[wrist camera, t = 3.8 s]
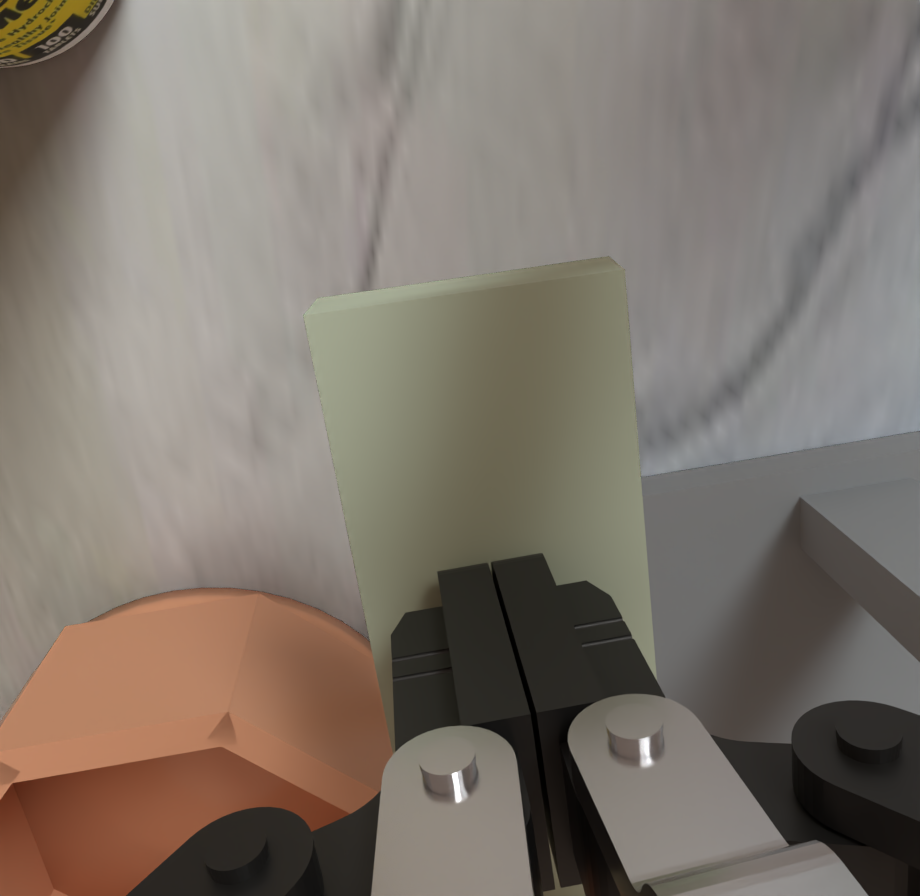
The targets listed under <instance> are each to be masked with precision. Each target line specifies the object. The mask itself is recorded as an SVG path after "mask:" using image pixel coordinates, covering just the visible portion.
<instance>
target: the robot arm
mask: <svg viewBox="0 0 920 896" xmlns="http://www.w3.org/2000/svg"><path fill="white" fill-rule="evenodd" d="M491 567H492V575H491V572H490V568H489V565H488V563H482V564H476V565H470V566H465V567H459V568H453V569H448V570H442V571H437V574H438V581H439V587H440V594H441V600H442V606H440V607H434V608H429V609H423V610H418V611H412V612H406V613H405V614H404V615H403V617H402V618H401V620H400V622H399V623H398V625H397V626H396V628H395V629H394V631H393V633H392V634H391V655H392V678H393V706H394V732H395V753H394V754H393V755H392V757H391V758H390V759H389V761H388V762H387V764H386V766H385V769H384V772H383V776H382V784H381V790H380V791H379V792H378V794H377V795H376V796H375V797H374V798H372V799H371V800H370V801H369V802H368V803H366V804H365V805H364V806H362V807H361V808H359V809H358V810H356V811H355V812H353V813H351V814H349V815H347V816H345V817H343V818H341V819H339V820H337V821H334V822H332V823H330V824H328V825H325V826H323V827H321V828H319V829H316V830H314V831H312V832H311V830H310V828H309V826H308V825H307V823H306V822H305V821H304V820H303V819H302V818H301V817H300V816H299V815H297V814H295V813H293V812H291V811H289V810H285V809H282V808H276V807H256V808H249V809H244V810H241V811H237V812H234V813H231V814H228V815H226V816H223V817H221V818H219V819H217V820H215V821H213V822H211V823H210V824H208V825H206V826H205V827H203V828H202V829H200V830H199V831H198V832H196V833H195V834H194V835H193V836H192V837H190V838H189V839H188V840H187V841H186V842H185V843H184V844H182V845H181V846H180V847H179V848H178V849H177V850H176V851H175V852H174V853H172V854H171V855H170V856H169V857H168V858H167V859H166V860H165V861H164V862H163V863H161V864H160V865H159V866H158V867H157V868H156V869H155V870H154V871H153V872H151V873H150V874H149V875H148V876H147V877H146V878H145V879H144V880H143V881H141V882H140V883H139V884H138V885H137V886H136V887H135V888H134V889H133V890H131V891H130V892H129V893H128V894H127V895H126V896H543V892H545V891H550V890H555V882H554V875H553V868H552V861H551V854H550V848H551V852H552V856H553V859H554V863H555V867H556V871H557V875H558V879H559V883H560V887H561V888H564V887H569V886H574V885H579V884H582V885H583V889H584V892H585V896H920V715H917V714H915V713H912V712H909V711H906V710H903V709H900V708H897V707H894V706H890V705H887V704H882V703H877V702H871V701H860V700H846V701H837V702H831V703H827V704H823V705H820V706H818V707H815V708H813V709H811V710H809V711H808V712H806V713H805V714H803V715H802V716H801V717H800V718H799V719H798V721H797V722H796V723H795V725H794V727H793V730H792V736H791V744H788V743H765V742H746V741H736V740H730V739H725V738H721V737H717V736H714V735H710V734H709V733H708V732H707V730H706V729H705V727H704V726H703V725H702V723H701V722H700V720H699V719H698V718H697V717H696V716H695V715H694V713H692V712H691V711H690V710H689V709H687V708H686V707H684V706H683V705H681V704H679V703H677V702H675V701H672V700H670V699H667V698H666V697H665V695H664V693H663V692H662V690H661V688H660V686H659V684H658V682H657V680H656V679H655V677H654V675H653V673H652V671H651V669H650V667H649V666H648V664H647V662H646V660H645V658H644V656H643V654H642V653H641V651H640V649H639V647H638V645H637V643H636V641H635V640H634V639H632V634H631V632H630V630H629V628H628V627H627V625H626V623H625V621H623V619H622V615H621V614H620V612H619V610H618V608H617V606H616V604H615V602H614V601H613V599H612V597H611V596H610V595H609V594H607V593H606V592H604V591H602V590H601V589H599V588H598V587H596V586H595V585H593V584H591V583H590V582H588V581H587V580H586V581H580V582H574V583H569V584H563V585H556V583H555V581H554V578H553V576H552V573H551V571H550V569H549V566H548V564H547V562H546V559H545V557H544V555H543V553H538V554H532V555H526V556H521V557H515V558H509V559H504V560H498V561H492V562H491ZM492 576H493V579H492ZM549 844H550V847H549Z"/></svg>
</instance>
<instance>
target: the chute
mask: <svg viewBox="0 0 920 896" xmlns="http://www.w3.org/2000/svg"><path fill="white" fill-rule="evenodd" d="M303 318H304V322H305V327H306V332H307V337H308V342H309V347H310V352H311V357H312V362H313V366H314V371H315V376H316V381H317V386H318V391H319V396H320V401H321V405H322V410H323V415H324V420H325V425H326V430H327V435H328V440H329V444H330V449H331V454H332V459H333V464H334V469H335V474H336V479H337V484H338V488H339V493H340V498H341V503H342V508H343V513H344V518H345V523H346V527H347V532H348V537H349V542H350V547H351V552H352V557H353V562H354V567H355V571H356V576H357V581H358V586H359V591H360V596H361V601H362V606H363V610H364V615H365V620H366V625H367V630H368V635H369V640H370V645H371V650H372V654H373V659H374V664H375V669H376V674H377V679H378V684H379V689H380V693H381V698H382V703H383V708H384V713H385V718H386V723H387V728H388V733H389V737H390V742H391V747H392V752H393V754H394V753H395V732H394V706H393V678H392V655H391V634H392V633H393V631H394V629H395V628H396V626H397V625H398V623H399V622H400V620H401V618H402V617H403V615H404V614H405V613H406V612H412V611H418V610H423V609H429V608H434V607H440V606H442V600H441V594H440V587H439V581H438V574H437V571H442V570H448V569H453V568H459V567H465V566H470V565H476V564H482V563H488V565H489V568H490V572H491V575H492V567H491V562H492V561H498V560H504V559H509V558H515V557H521V556H526V555H532V554H538V553H543V555H544V557H545V559H546V562H547V564H548V566H549V569H550V571H551V573H552V576H553V578H554V581H555V583H556V585H563V584H569V583H574V582H580V581H586V580H587V581H588V582H590V583H591V584H593V585H595V586H596V587H598V588H599V589H601V590H602V591H604V592H606V593H607V594H609V595H610V596H611V597H612V599H613V601H614V602H615V604H616V606H617V608H618V610H619V612H620V614H621V615H622V619H623V621H625V623H626V625H627V627H628V628H629V630H630V632H631V634H632V639H634V640H635V641H636V643H637V645H638V647H639V649H640V651H641V653H642V654H643V656H644V658H645V660H646V662H647V664H648V666H649V667H650V669H651V671H652V673H653V675H654V677H655V679H656V680H657V676H656V663H655V650H654V637H653V625H652V612H651V599H650V586H649V573H648V561H647V548H646V535H645V522H644V510H643V497H642V484H641V471H640V459H639V446H638V433H637V420H636V407H635V395H634V382H633V369H632V356H631V344H630V331H629V318H628V305H627V293H626V280H625V269H624V268H622V267H621V266H620V265H619V264H618V263H616V262H615V261H614V260H613V259H612V258H610V257H609V256H607V257H600V258H593V259H586V260H579V261H573V262H566V263H559V264H552V265H545V266H538V267H531V268H524V269H517V270H510V271H503V272H496V273H489V274H482V275H475V276H468V277H461V278H454V279H447V280H440V281H433V282H426V283H420V284H413V285H406V286H399V287H392V288H385V289H378V290H371V291H364V292H357V293H350V294H343V295H336V296H329V297H322V298H317V299H316V301H315V302H314V303H313V304H312V305H311V307H310V308H309V309H308V310H307V311H306V313H305V314H304V315H303ZM492 579H493V576H492ZM549 847H550V844H549ZM550 854H551V861H552V868H553V875H554V882H555V890H550V891H545V892H543V896H585V892H584V889H583V885H582V884H579V885H574V886H569V887H564V888H561V887H560V883H559V879H558V875H557V871H556V867H555V863H554V859H553V856H552V852H551V848H550Z"/></svg>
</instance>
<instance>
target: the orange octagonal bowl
mask: <svg viewBox="0 0 920 896" xmlns="http://www.w3.org/2000/svg"><path fill="white" fill-rule="evenodd" d="M392 755H393V752H392V747H391V742H390V737H389V733H388V728H387V723H386V718H385V713H384V708H383V703H382V698H381V693H380V689H379V684H378V679H377V674H376V669H375V664H374V659H373V654H372V650H371V645H370V641H369V640H367V639H366V638H365V637H364V636H363V635H361V634H360V633H358V632H357V631H355V630H354V629H352V628H351V627H349V626H348V625H347V624H345V623H344V622H342V621H340V620H338V619H336V618H334V617H333V616H331V615H329V614H327V613H325V612H323V611H321V610H319V609H317V608H314V607H312V606H309V605H306V604H303V603H301V602H298V601H295V600H293V599H290V598H286V597H282V596H277V595H273V594H269V593H265V592H261V591H252V590H244V589H236V588H194V589H185V590H176V591H169V592H165V593H161V594H156V595H152V596H148V597H143V598H140V599H138V600H135V601H132V602H129V603H127V604H124V605H121V606H118V607H116V608H114V609H112V610H110V611H108V612H106V613H104V614H102V615H100V616H98V617H96V618H94V619H92V620H90V621H89V622H87V623H82V624H76V625H70V626H65V627H64V629H63V631H62V632H61V634H60V635H59V637H58V638H57V640H56V641H55V643H54V644H53V646H52V647H51V648H50V650H49V651H48V653H47V654H46V656H45V657H44V659H43V660H42V662H41V663H40V664H39V666H38V667H37V669H36V670H35V671H34V672H33V673H32V675H31V676H30V678H29V680H28V681H27V683H26V684H25V686H24V687H23V689H22V690H21V692H20V693H19V695H18V696H17V698H16V699H15V701H14V702H13V704H12V705H11V707H10V708H9V709H8V711H7V712H6V714H5V715H4V717H3V718H2V720H1V721H0V896H126V895H127V894H128V893H129V892H130V891H131V890H133V889H134V888H135V887H136V886H137V885H138V884H139V883H140V882H141V881H143V880H144V879H145V878H146V877H147V876H148V875H149V874H150V873H151V872H153V871H154V870H155V869H156V868H157V867H158V866H159V865H160V864H161V863H163V862H164V861H165V860H166V859H167V858H168V857H169V856H170V855H171V854H172V853H174V852H175V851H176V850H177V849H178V848H179V847H180V846H181V845H182V844H184V843H185V842H186V841H187V840H188V839H189V838H190V837H192V836H193V835H194V834H195V833H196V832H198V831H199V830H200V829H202V828H203V827H205V826H206V825H208V824H210V823H211V822H213V821H215V820H217V819H219V818H221V817H223V816H226V815H228V814H231V813H234V812H237V811H241V810H244V809H249V808H256V807H276V808H282V809H285V810H289V811H291V812H293V813H295V814H297V815H299V816H300V817H301V818H302V819H303V820H304V821H305V822H306V823H307V825H308V826H309V828H310V830H311V832H312V831H314V830H316V829H319V828H321V827H323V826H325V825H328V824H330V823H332V822H334V821H337V820H339V819H341V818H343V817H345V816H347V815H349V814H351V813H353V812H355V811H356V810H358V809H359V808H361V807H362V806H364V805H365V804H366V803H368V802H369V801H370V800H371V799H372V798H374V797H375V796H376V795H377V794H378V792H379V791H380V790H381V784H382V776H383V772H384V769H385V766H386V764H387V762H388V761H389V759H390V758H391V757H392Z"/></svg>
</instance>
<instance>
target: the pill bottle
mask: <svg viewBox="0 0 920 896" xmlns="http://www.w3.org/2000/svg"><path fill="white" fill-rule="evenodd" d="M113 1H114V0H0V68H7V67H17V66H25V65H30V64H34V63H38V62H41V61H44V60H47V59H50V58H52V57H54V56H56V55H58V54H61V53H63V52H64V51H66V50H68V49H69V48H71V47H73V46H74V45H75V44H77V43H78V42H79V41H81V40H82V39H83V38H85V37H86V36H87V35H88V34H89V33H90V32H91V31H92V30H93V29H94V28H95V27H96V26H97V24H98V23H99V22H100V21H101V20H102V18H103V17H104V16H105V14H106V13H107V11H108V10H109V8H110V7H111V5H112V3H113Z"/></svg>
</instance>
